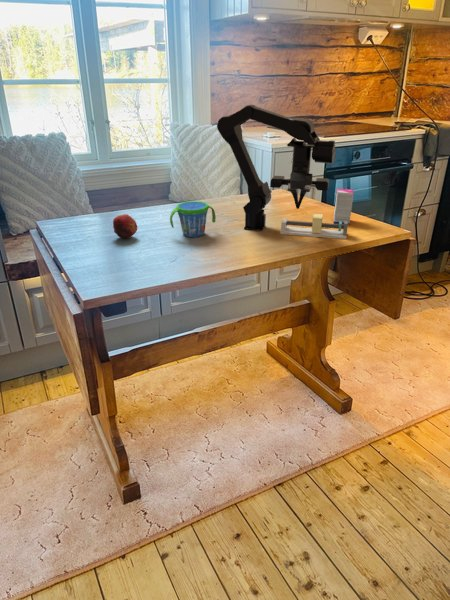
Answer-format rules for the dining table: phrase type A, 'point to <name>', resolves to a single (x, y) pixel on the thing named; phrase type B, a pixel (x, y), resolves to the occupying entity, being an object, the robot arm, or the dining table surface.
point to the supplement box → (343, 206)
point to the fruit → (124, 226)
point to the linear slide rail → (308, 231)
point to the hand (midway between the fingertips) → (297, 208)
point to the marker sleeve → (317, 223)
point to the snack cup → (192, 217)
